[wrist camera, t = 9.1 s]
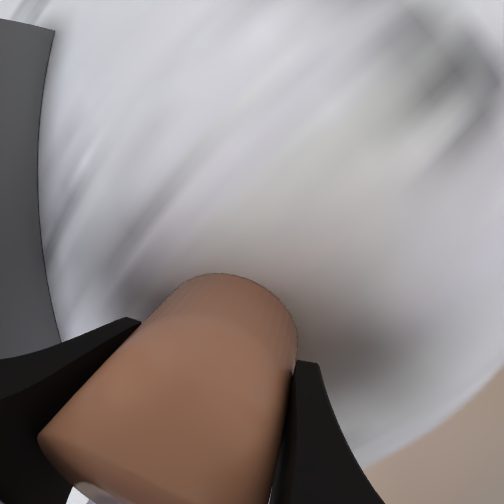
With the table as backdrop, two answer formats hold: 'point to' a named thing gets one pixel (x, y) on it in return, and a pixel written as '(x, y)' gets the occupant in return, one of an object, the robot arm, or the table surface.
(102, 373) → the terracotta cylinder
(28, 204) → the tote
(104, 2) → the table surface
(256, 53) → the table surface
